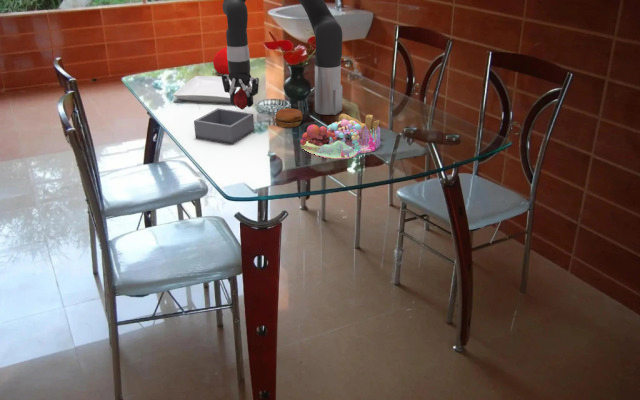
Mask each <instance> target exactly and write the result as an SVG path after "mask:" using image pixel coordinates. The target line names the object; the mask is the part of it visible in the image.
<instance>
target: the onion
mask: <svg viewBox="0 0 640 400" xmlns="http://www.w3.org/2000/svg"><path fill="white" fill-rule="evenodd" d="M247 97H248V96H247V94H246V92H245V91H244V90H243V88H240V89H239V90H238V91H237V92H236V93H235V95H234V104H235V105H234V106H236V107H237V108H239V109H240V110H242V111H243V110H245V109H246V108H247V107H248V105H247Z"/></svg>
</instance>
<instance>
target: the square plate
mask: <svg viewBox="0 0 640 400" xmlns="http://www.w3.org/2000/svg"><path fill="white" fill-rule="evenodd" d="M229 82H230V86H231V83H232V82H231V80H230V79H229ZM249 83H250V85H251V87H252V84H251V81H250V82H249ZM246 87H247V86H246ZM239 89H240V87H237V89H236V92H237V91H238V90H239ZM251 89H252V88H251ZM236 92H235V93H236ZM172 96H174V97H176V98H177V99H179V100H181V101H189V102H199V103H200V102H203V103H208V102H209V103H222V104H223V103H224V104H232V103H231V101H230V94H229V93H228V92H225V91H224V87H223V82H222V76H215V75H213V76H212V75H209V76H208V75H207V76H206V75H195V76H193V78H191V79H190V80H188V81H187V82H186V83H184V84H183V85H182V86H181V87H180V88H179V89H177V90H176V91H175V92H174V93H173V94H172Z"/></svg>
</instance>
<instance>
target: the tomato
mask: <svg viewBox="0 0 640 400" xmlns="http://www.w3.org/2000/svg"><path fill="white" fill-rule="evenodd" d="M212 63H213V69H214V70H215V71H216V72H217V73H218V74H221V75H225V74H227V75H229V71H228V59H227V46H226V47H223V48H221V49H220V50H218V51H216V53H215V55H214V56H213V60H212Z"/></svg>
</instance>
